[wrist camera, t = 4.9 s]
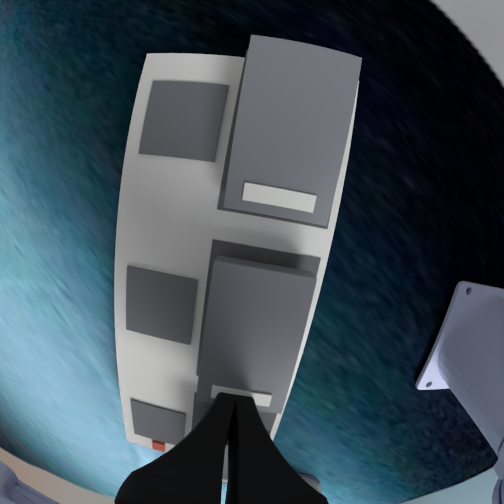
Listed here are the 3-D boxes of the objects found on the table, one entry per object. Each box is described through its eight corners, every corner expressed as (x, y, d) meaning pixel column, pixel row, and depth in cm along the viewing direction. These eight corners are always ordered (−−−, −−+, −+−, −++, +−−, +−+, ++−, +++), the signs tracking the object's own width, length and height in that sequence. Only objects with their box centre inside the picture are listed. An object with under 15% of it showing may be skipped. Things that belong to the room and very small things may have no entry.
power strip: (342, 91, 13) (361, 71, 10) (261, 441, 18) (260, 475, 15) (168, 67, 13) (147, 44, 10) (140, 416, 18) (126, 446, 15)
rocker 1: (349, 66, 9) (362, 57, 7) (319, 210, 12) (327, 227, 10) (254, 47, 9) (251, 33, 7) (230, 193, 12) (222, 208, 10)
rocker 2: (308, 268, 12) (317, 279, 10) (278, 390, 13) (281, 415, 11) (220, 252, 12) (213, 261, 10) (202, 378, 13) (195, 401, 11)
